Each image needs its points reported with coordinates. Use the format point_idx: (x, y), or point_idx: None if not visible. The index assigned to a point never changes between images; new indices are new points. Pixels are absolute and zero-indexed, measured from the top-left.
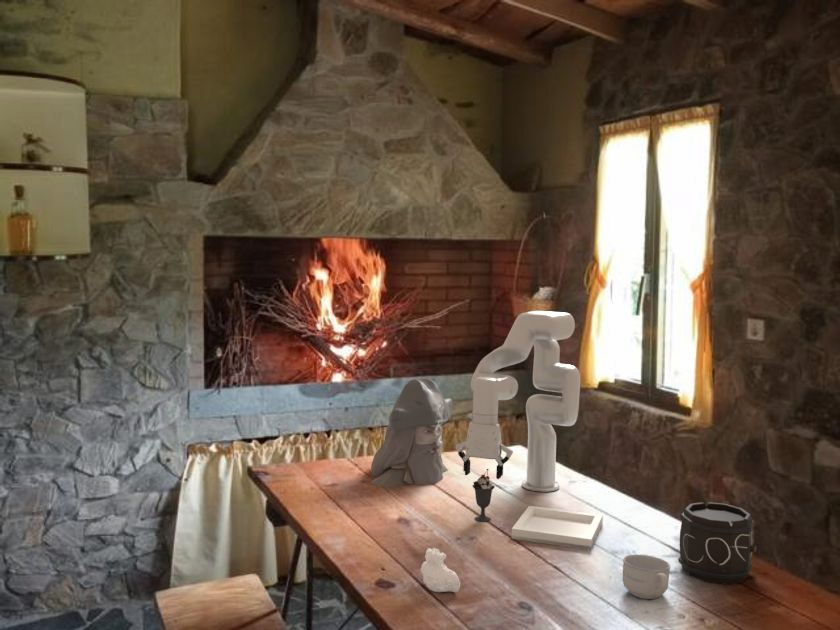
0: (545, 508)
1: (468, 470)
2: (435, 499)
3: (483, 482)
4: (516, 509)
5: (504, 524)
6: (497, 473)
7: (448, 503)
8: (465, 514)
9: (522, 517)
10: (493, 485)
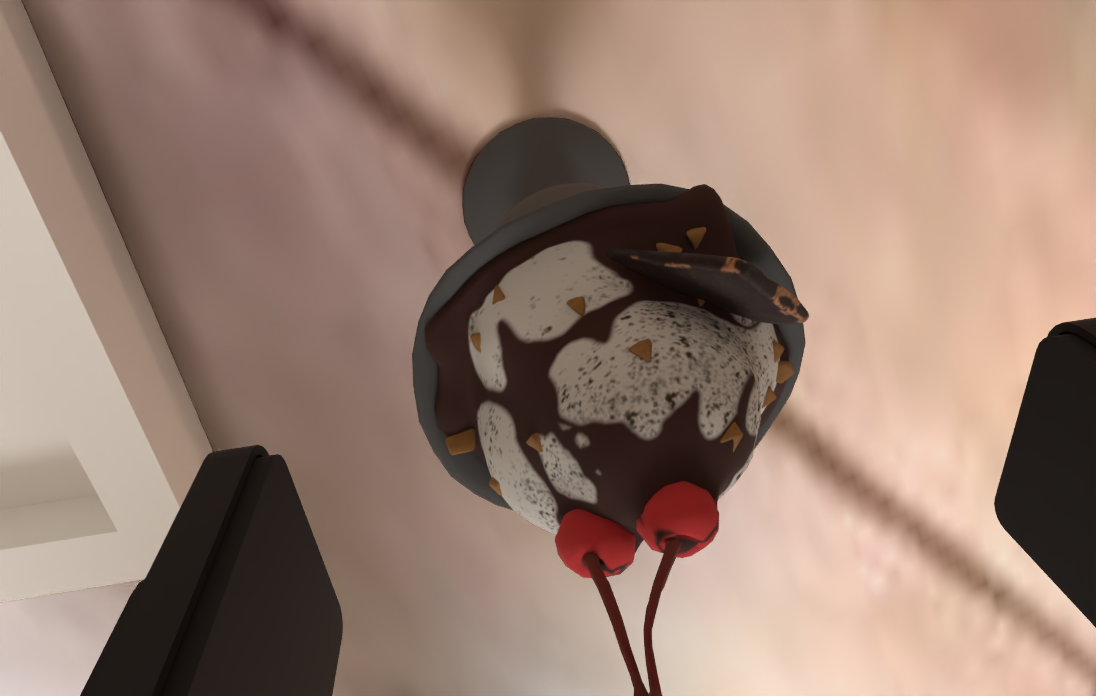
0: (29, 578)
1: (1085, 468)
2: None
3: (601, 350)
4: (400, 565)
5: (285, 175)
6: (193, 542)
7: (953, 421)
8: None
9: (10, 212)
10: (488, 499)
